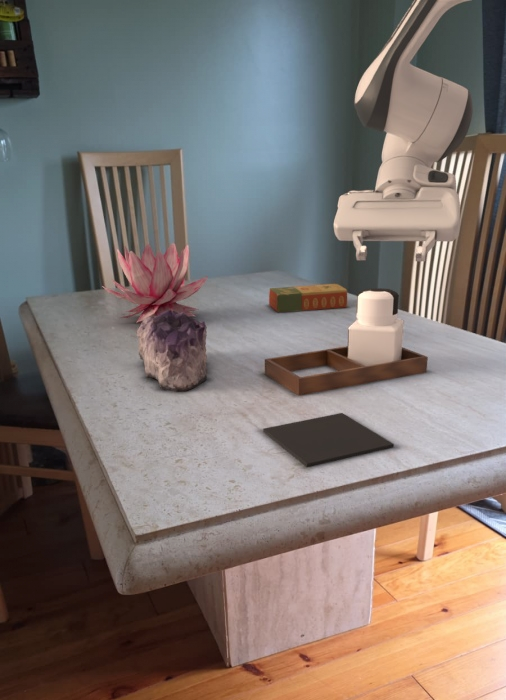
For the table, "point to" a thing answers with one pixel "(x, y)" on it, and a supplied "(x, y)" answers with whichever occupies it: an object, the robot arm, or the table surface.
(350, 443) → the coaster
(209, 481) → the table surface
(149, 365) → the geode
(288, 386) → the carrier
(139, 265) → the decorative flower
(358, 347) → the medicine bottle
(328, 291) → the carton
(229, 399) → the table surface
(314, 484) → the table surface
